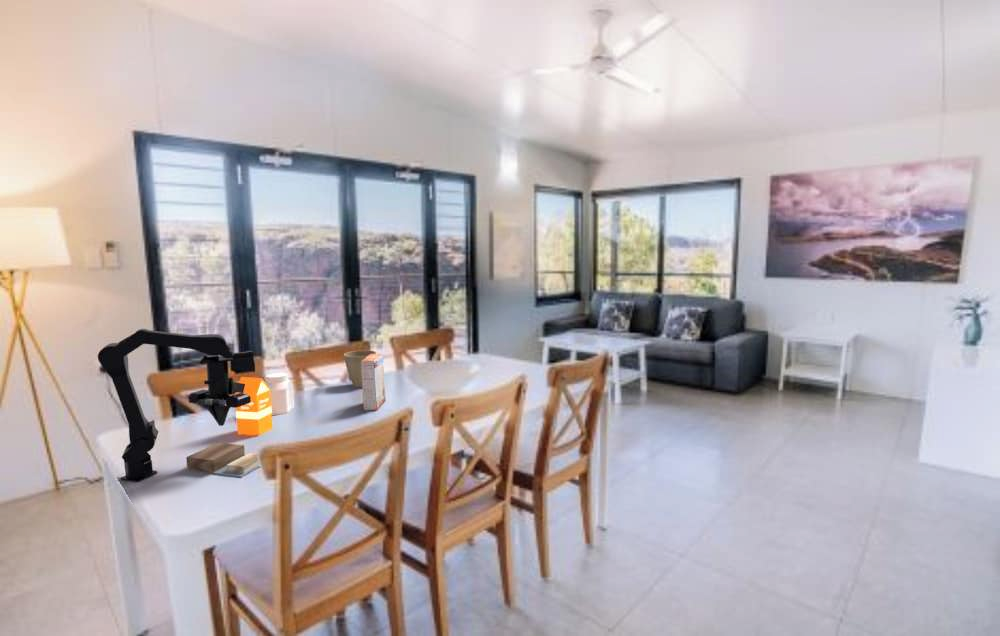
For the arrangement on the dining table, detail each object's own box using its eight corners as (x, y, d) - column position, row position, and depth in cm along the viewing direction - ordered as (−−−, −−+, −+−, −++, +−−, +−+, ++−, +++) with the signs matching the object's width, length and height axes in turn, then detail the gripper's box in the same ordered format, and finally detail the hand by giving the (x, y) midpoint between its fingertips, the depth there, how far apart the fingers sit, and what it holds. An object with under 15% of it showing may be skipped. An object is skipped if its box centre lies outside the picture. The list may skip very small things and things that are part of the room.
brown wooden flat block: (187, 469, 153) (186, 457, 152) (219, 454, 164) (218, 442, 164) (214, 473, 150) (213, 460, 150) (245, 457, 162) (244, 445, 161)
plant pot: (339, 388, 242) (337, 355, 240) (357, 380, 256) (355, 349, 254) (366, 390, 238) (364, 357, 236) (383, 382, 252) (381, 351, 250)
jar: (284, 415, 204) (282, 378, 202) (261, 415, 204) (258, 378, 202) (297, 406, 215) (294, 371, 213) (274, 406, 215) (272, 371, 213)
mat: (213, 474, 150) (213, 472, 150) (246, 456, 162) (246, 455, 162) (241, 477, 147) (241, 476, 147) (272, 459, 160) (272, 458, 159)
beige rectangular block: (243, 466, 149) (244, 473, 149) (265, 454, 157) (265, 461, 158) (226, 464, 150) (227, 471, 151) (248, 453, 159) (249, 459, 159)
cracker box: (372, 400, 222) (370, 353, 219) (386, 400, 221) (384, 353, 219) (362, 410, 208) (360, 360, 205) (377, 410, 208) (374, 360, 205)
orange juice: (259, 435, 181) (255, 380, 178) (237, 434, 182) (232, 379, 180) (273, 428, 188) (269, 375, 186) (252, 427, 190) (247, 374, 187)
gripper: (262, 372, 161) (265, 420, 163) (215, 368, 166) (219, 414, 168) (234, 380, 150) (238, 431, 152) (185, 376, 156) (189, 425, 158)
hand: (221, 425), depth 158 cm, fingers closed
